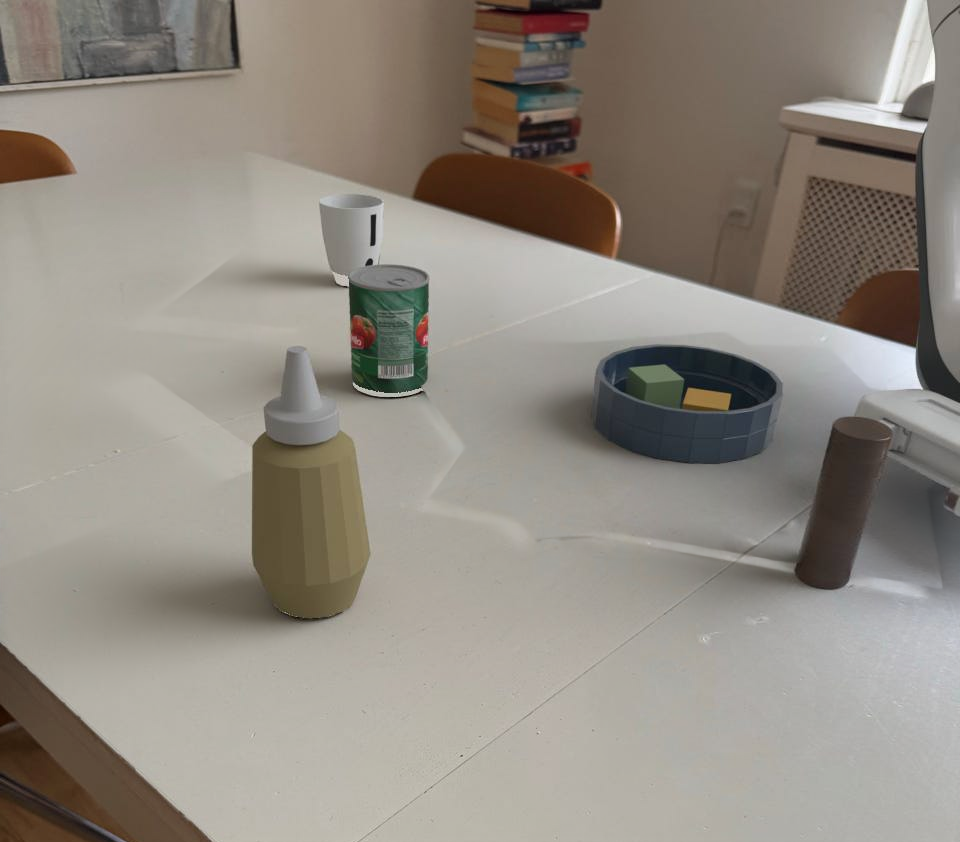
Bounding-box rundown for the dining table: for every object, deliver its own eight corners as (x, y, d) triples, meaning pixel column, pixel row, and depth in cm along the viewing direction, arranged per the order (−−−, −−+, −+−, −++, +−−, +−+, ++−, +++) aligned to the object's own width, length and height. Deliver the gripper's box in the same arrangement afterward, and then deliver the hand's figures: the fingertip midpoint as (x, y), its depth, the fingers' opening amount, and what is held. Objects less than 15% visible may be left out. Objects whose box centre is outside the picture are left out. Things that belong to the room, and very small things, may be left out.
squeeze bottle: (395, 598, 71) (392, 350, 61) (307, 646, 66) (287, 385, 56) (320, 556, 75) (305, 318, 65) (232, 598, 70) (200, 347, 60)
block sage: (659, 403, 100) (665, 364, 98) (678, 418, 97) (684, 379, 95) (623, 406, 99) (628, 367, 97) (640, 422, 96) (646, 382, 93)
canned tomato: (336, 380, 104) (331, 271, 97) (398, 364, 108) (397, 259, 101) (381, 405, 99) (379, 292, 92) (443, 387, 103) (445, 279, 97)
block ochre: (723, 434, 94) (731, 393, 92) (719, 451, 91) (727, 409, 89) (681, 427, 95) (688, 387, 93) (676, 444, 92) (682, 403, 90)
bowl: (742, 397, 104) (752, 345, 101) (794, 472, 90) (808, 414, 87) (579, 395, 103) (584, 342, 100) (606, 470, 89) (614, 412, 86)
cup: (376, 293, 127) (375, 210, 122) (315, 288, 128) (310, 205, 122) (391, 276, 134) (390, 196, 128) (332, 270, 135) (329, 191, 129)
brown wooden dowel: (837, 561, 78) (879, 416, 71) (856, 589, 74) (902, 440, 67) (787, 561, 77) (825, 415, 70) (804, 589, 74) (845, 439, 67)
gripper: (932, 361, 85) (813, 385, 80) (1160, 458, 71) (1035, 496, 66) (911, 430, 89) (795, 457, 84) (1123, 535, 75) (1001, 577, 69)
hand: (902, 475), depth 74 cm, fingers open, 8 cm apart
